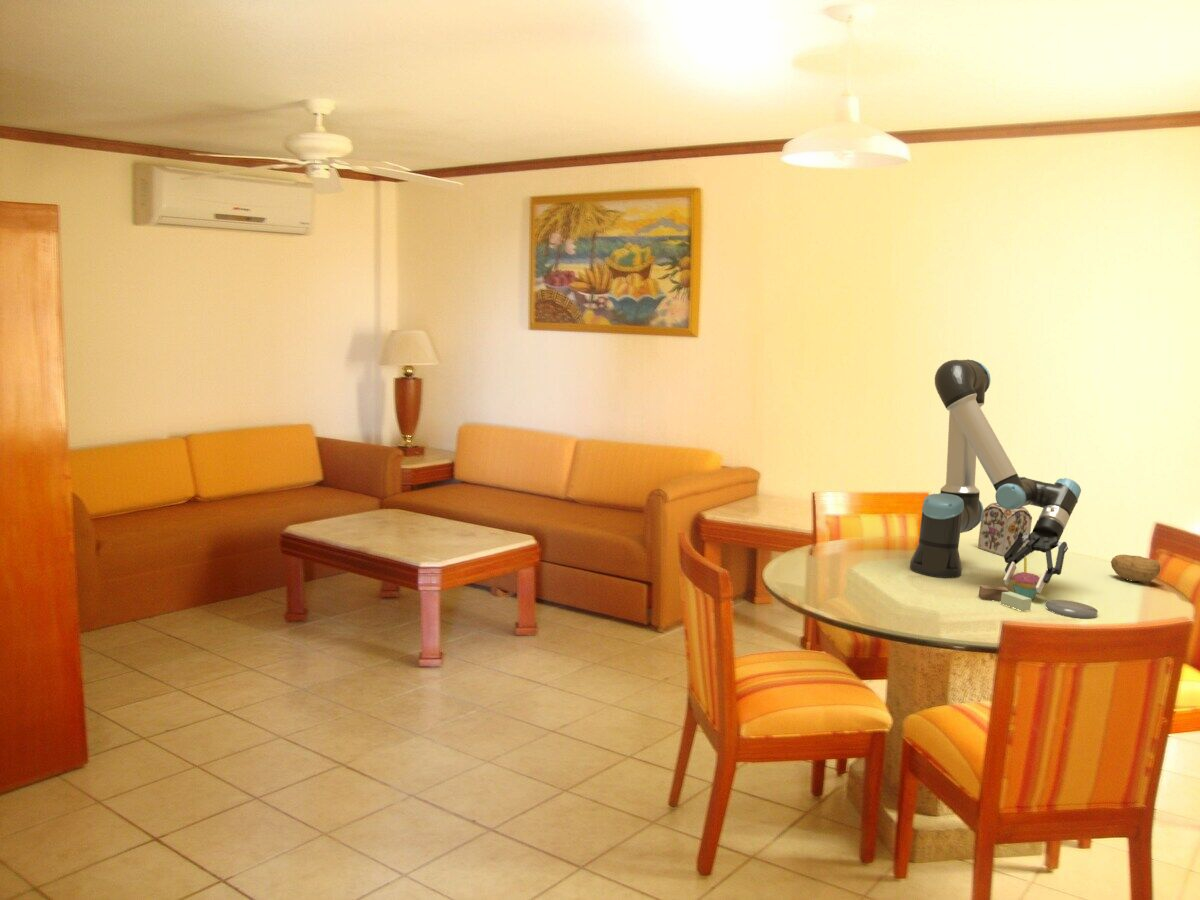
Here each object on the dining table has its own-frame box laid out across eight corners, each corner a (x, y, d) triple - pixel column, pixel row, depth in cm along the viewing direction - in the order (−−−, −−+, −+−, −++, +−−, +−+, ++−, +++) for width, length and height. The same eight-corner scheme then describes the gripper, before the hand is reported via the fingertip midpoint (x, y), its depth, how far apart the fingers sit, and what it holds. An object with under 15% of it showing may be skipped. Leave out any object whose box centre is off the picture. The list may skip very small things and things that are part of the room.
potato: (1114, 573, 327) (1118, 549, 326) (1162, 584, 318) (1166, 559, 316) (1103, 578, 320) (1107, 553, 319) (1152, 589, 311) (1156, 563, 309)
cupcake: (1002, 593, 293) (1007, 552, 292) (1025, 592, 296) (1030, 552, 295) (1024, 602, 285) (1029, 560, 284) (1048, 601, 289) (1053, 559, 287)
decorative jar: (976, 548, 351) (982, 496, 348) (1001, 546, 356) (1007, 495, 353) (1003, 556, 340) (1010, 504, 338) (1028, 555, 345) (1035, 503, 343)
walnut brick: (981, 600, 286) (983, 588, 285) (978, 596, 289) (979, 584, 289) (1007, 602, 285) (1009, 590, 284) (1004, 599, 288) (1005, 587, 288)
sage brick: (1000, 604, 282) (1001, 592, 282) (1009, 603, 284) (1010, 591, 283) (1021, 612, 276) (1022, 599, 276) (1030, 611, 278) (1031, 598, 277)
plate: (1044, 612, 277) (1045, 608, 276) (1045, 601, 288) (1046, 597, 288) (1097, 621, 271) (1098, 617, 271) (1096, 609, 283) (1096, 605, 283)
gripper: (1012, 509, 302) (982, 569, 293) (1086, 524, 288) (1057, 587, 279) (1017, 525, 307) (987, 585, 298) (1090, 540, 292) (1062, 603, 283)
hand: (1021, 586), depth 288 cm, fingers closed on cupcake, 8 cm apart
